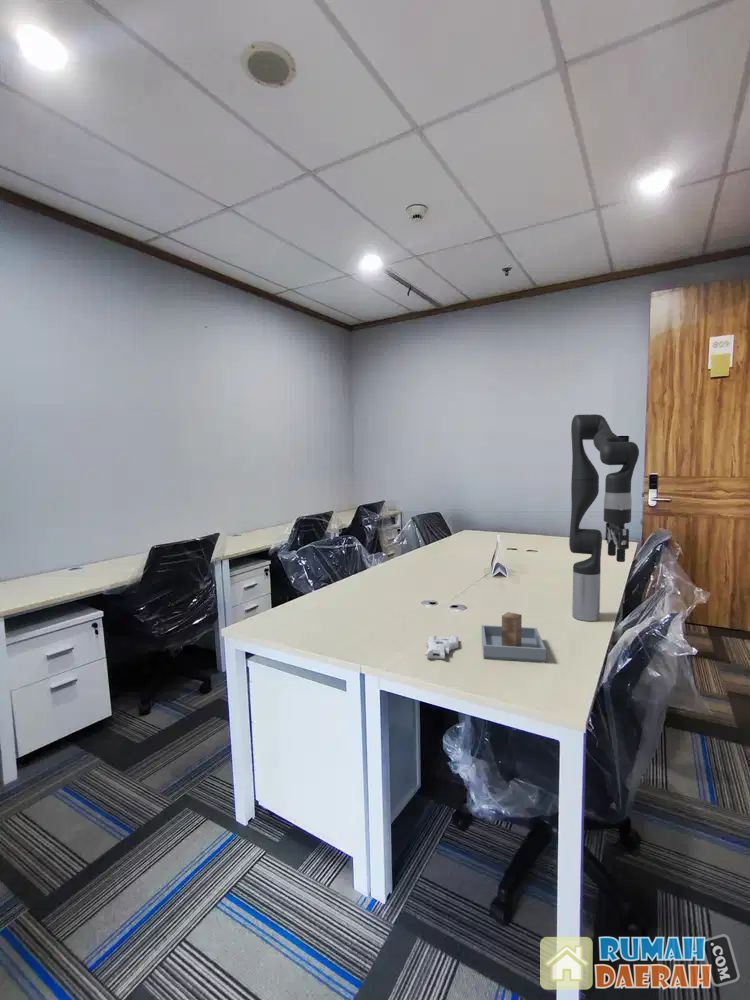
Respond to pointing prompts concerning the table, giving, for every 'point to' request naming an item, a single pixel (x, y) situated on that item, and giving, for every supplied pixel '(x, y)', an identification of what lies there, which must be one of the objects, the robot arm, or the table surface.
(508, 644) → the handle block
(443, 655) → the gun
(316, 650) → the table surface
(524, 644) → the box
